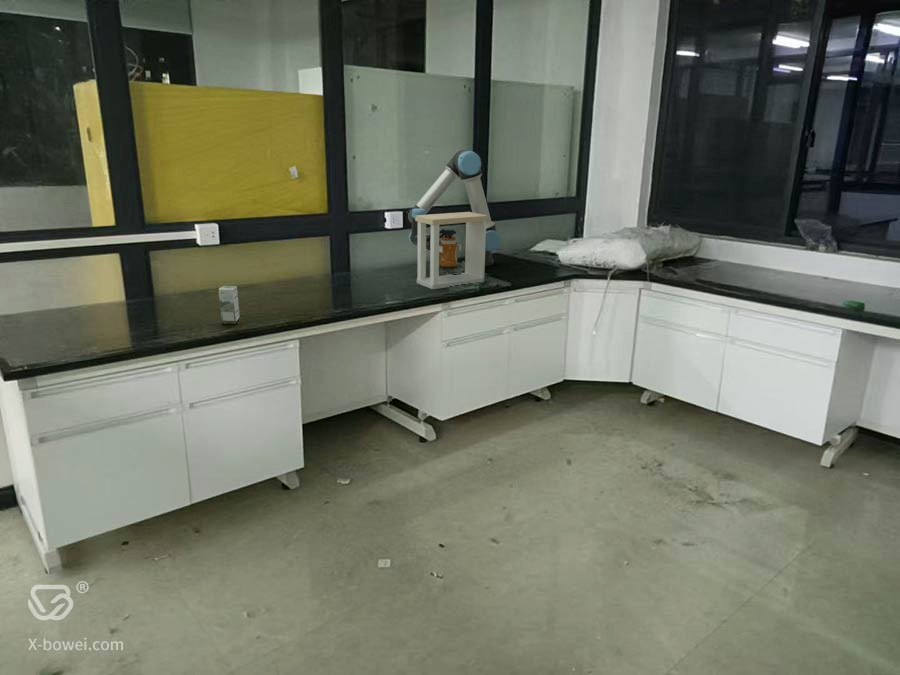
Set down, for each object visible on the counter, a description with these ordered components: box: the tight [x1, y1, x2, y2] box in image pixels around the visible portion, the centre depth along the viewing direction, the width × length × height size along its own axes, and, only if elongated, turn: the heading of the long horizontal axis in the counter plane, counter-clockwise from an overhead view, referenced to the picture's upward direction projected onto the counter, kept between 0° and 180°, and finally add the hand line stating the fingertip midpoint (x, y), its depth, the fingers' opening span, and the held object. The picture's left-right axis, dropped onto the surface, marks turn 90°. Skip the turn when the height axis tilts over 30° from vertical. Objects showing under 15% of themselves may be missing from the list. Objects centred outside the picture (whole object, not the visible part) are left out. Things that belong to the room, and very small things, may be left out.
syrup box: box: [218, 285, 241, 322], centre depth 248 cm, size 6×6×14 cm
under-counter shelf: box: [415, 211, 488, 290], centre depth 315 cm, size 32×16×34 cm, turn 123°
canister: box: [439, 228, 458, 271], centre depth 317 cm, size 9×11×20 cm
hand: (451, 248), depth 313 cm, fingers closed on canister, 10 cm apart
